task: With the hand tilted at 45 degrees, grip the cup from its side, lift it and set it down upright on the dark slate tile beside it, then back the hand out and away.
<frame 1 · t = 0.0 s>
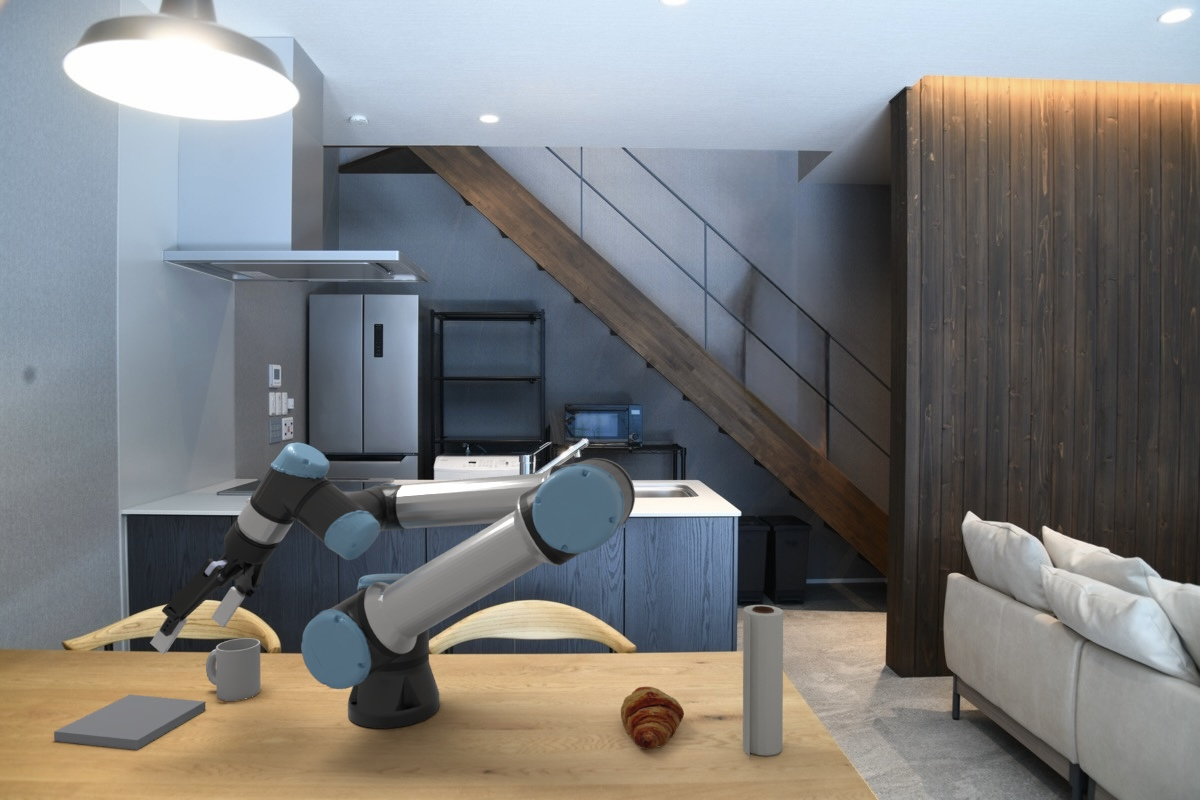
hand: (189, 634, 127), 15 cm above the table, tool tilted 35°, fingers open, 13 cm apart
cup: (231, 694, 142), on the table
croissant: (652, 730, 128), on the table
paper towel roll: (759, 749, 120), on the table
slate tile: (133, 724, 129), on the table
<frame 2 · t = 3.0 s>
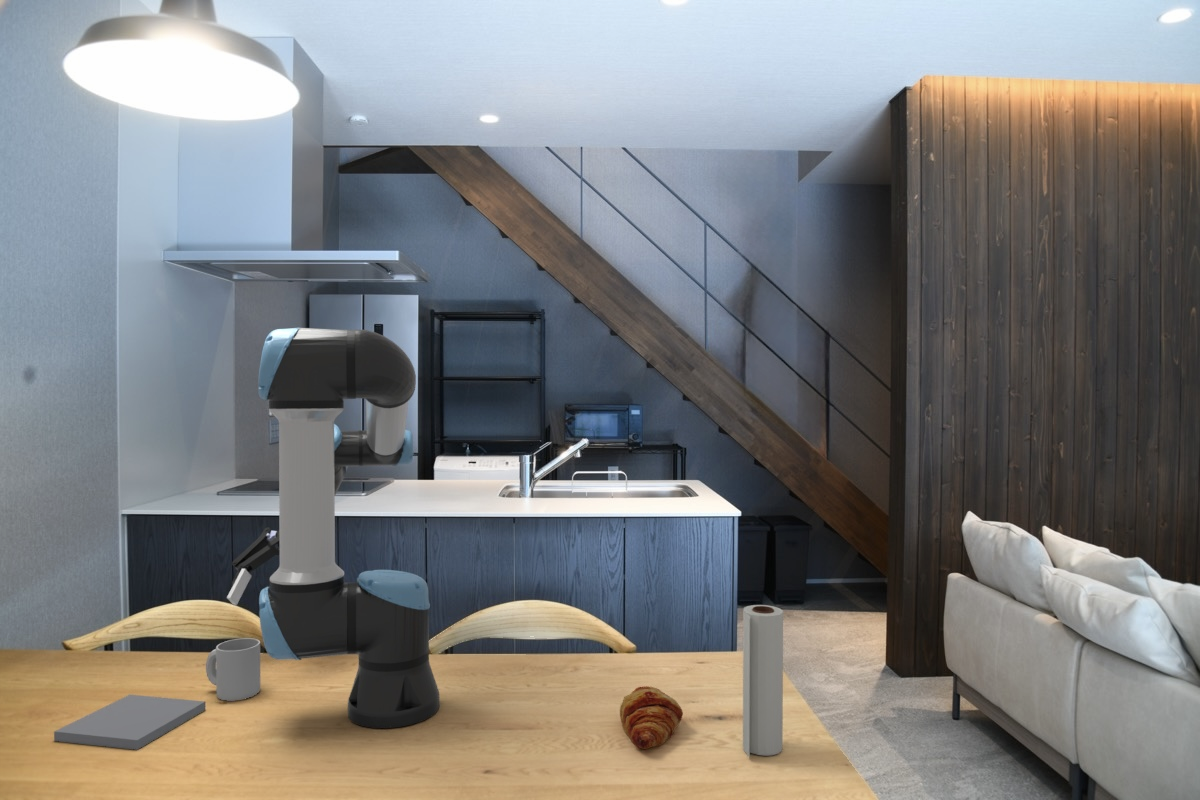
hand: (263, 603, 151), 14 cm above the table, tool tilted 45°, fingers open, 13 cm apart
nothing on the table moved.
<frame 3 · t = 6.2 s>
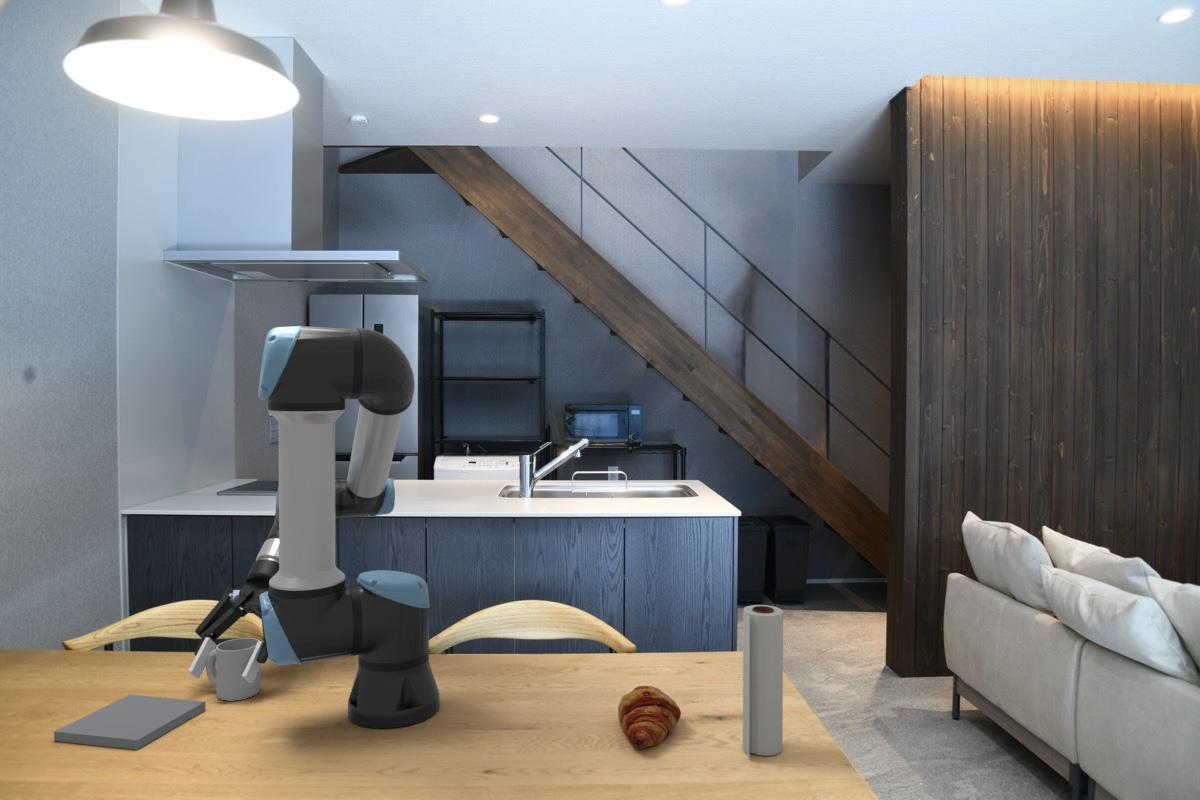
hand: (220, 677, 139), 4 cm above the table, tool tilted 45°, fingers closed on cup, 10 cm apart
cup: (231, 694, 142), on the table, touching gripper
everything else where it was.
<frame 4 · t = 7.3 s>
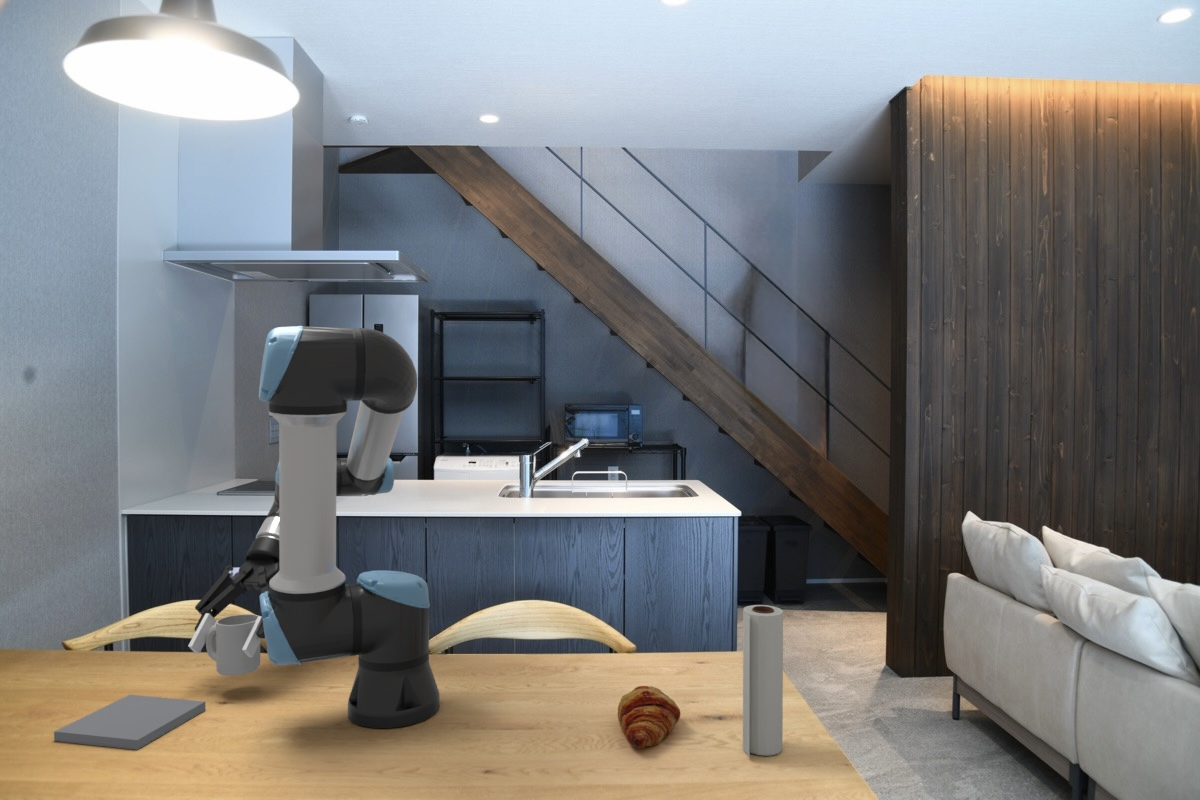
hand: (220, 651, 139), 8 cm above the table, tool tilted 45°, fingers closed on cup, 10 cm apart
cup: (231, 669, 142), point 4 cm above the table, touching gripper
everything else where it was.
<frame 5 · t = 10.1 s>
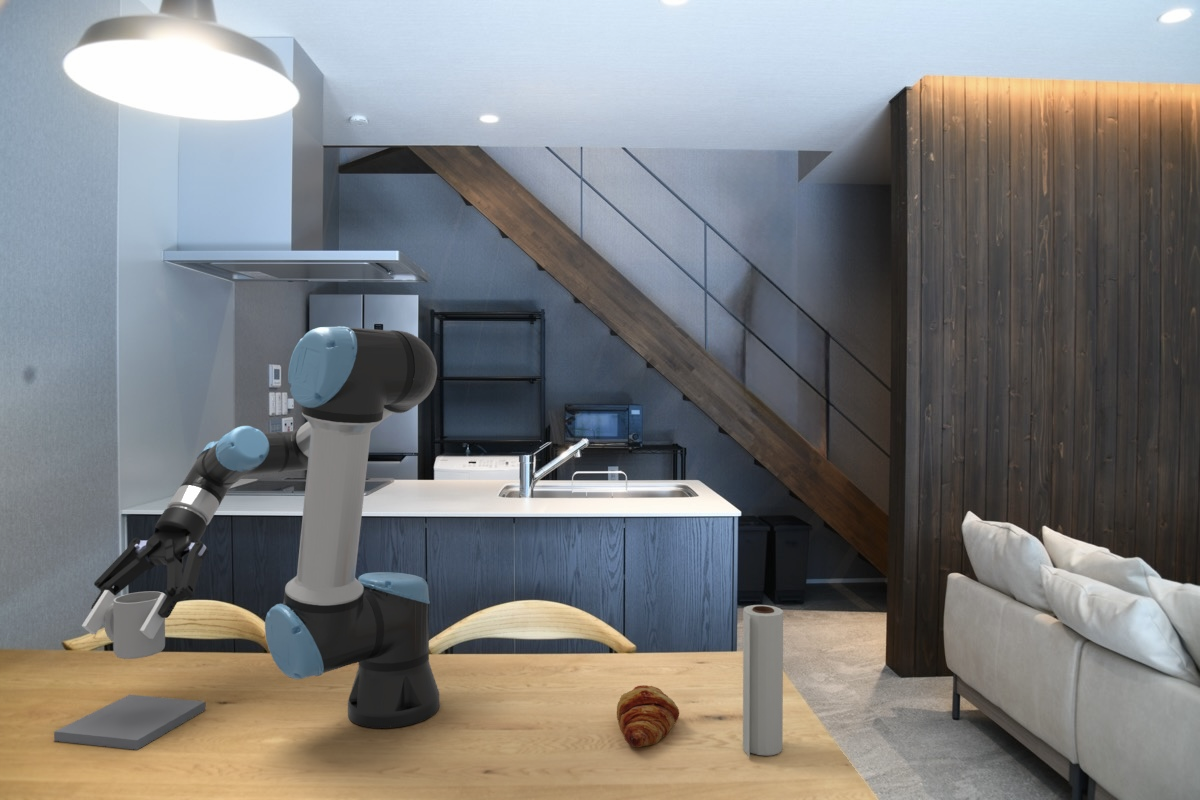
hand: (117, 632, 126), 16 cm above the table, tool tilted 45°, fingers closed on cup, 10 cm apart
cup: (132, 652, 129), point 12 cm above the table, touching gripper
everything else where it was.
when the fingers open (7 cm above the table, at t = 12.6 s): cup drops 1 cm, resting on slate tile.
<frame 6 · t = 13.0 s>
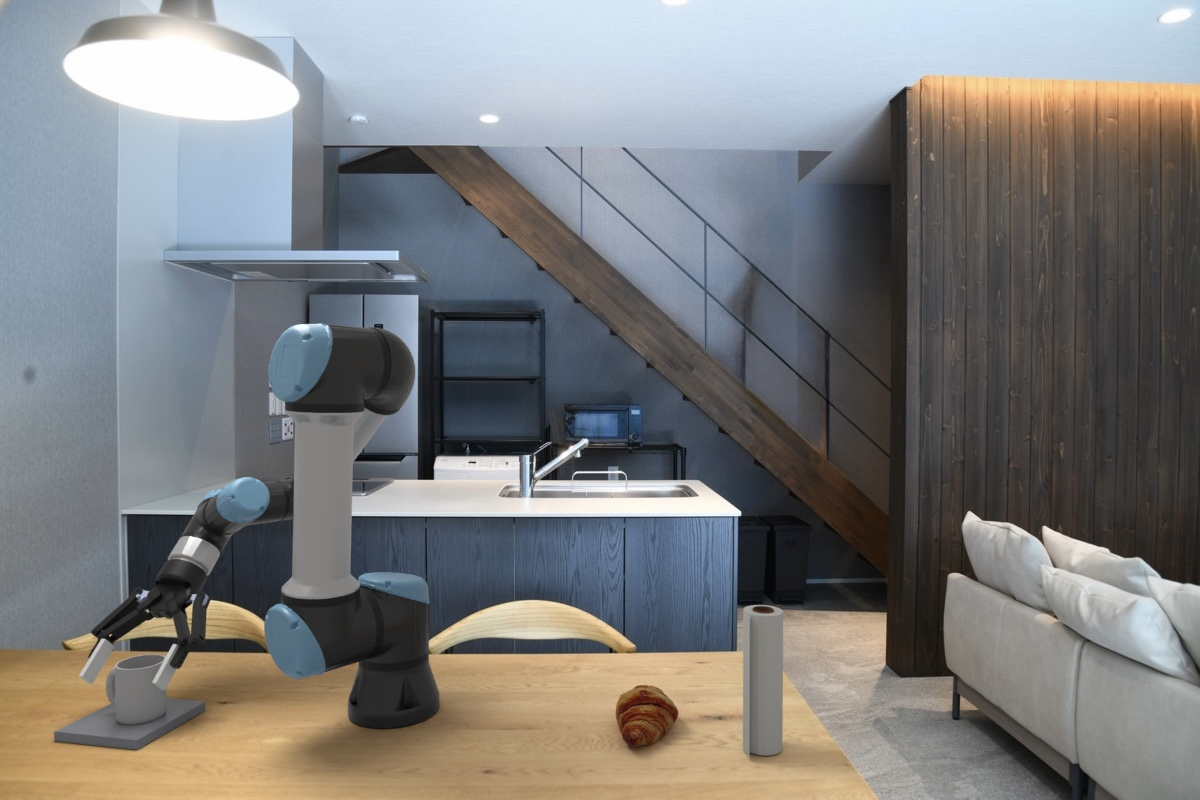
hand: (121, 683, 126), 8 cm above the table, tool tilted 45°, fingers open, 13 cm apart
cup: (134, 716, 129), point 1 cm above the table, touching slate tile
everything else where it was.
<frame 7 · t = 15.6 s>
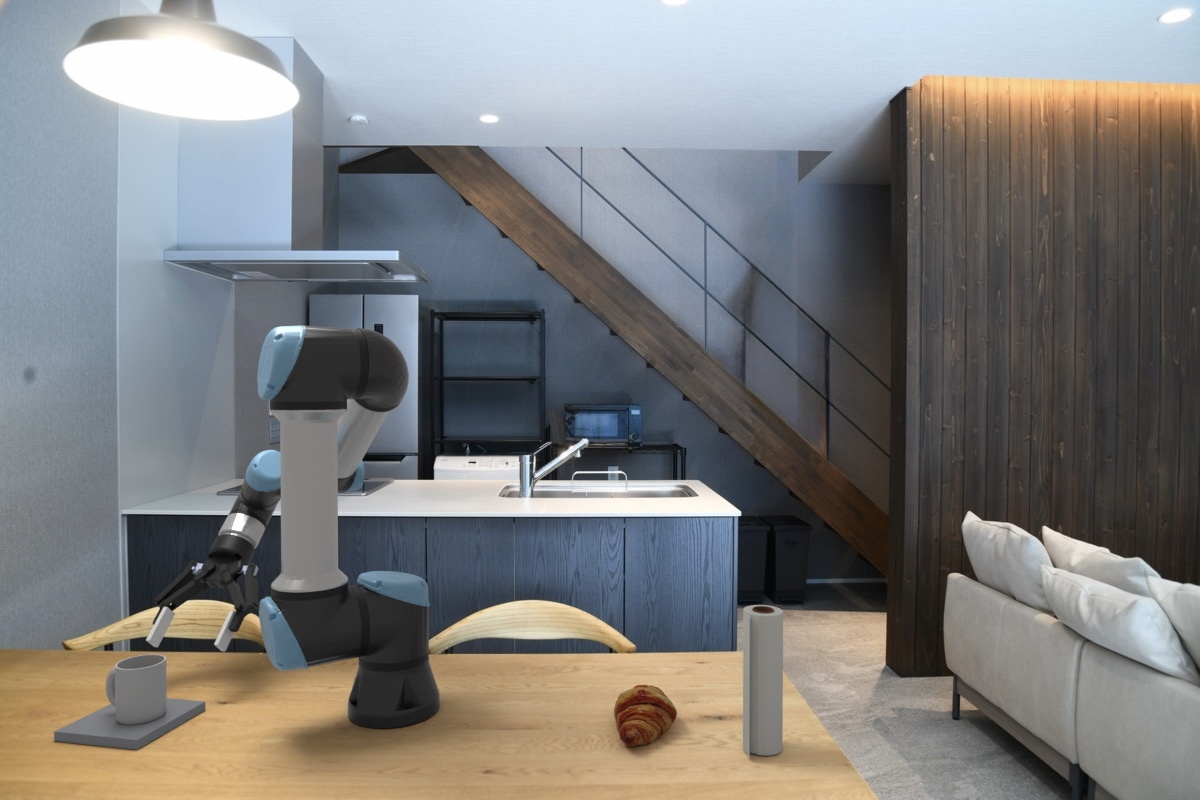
hand: (185, 646, 140), 9 cm above the table, tool tilted 45°, fingers open, 13 cm apart
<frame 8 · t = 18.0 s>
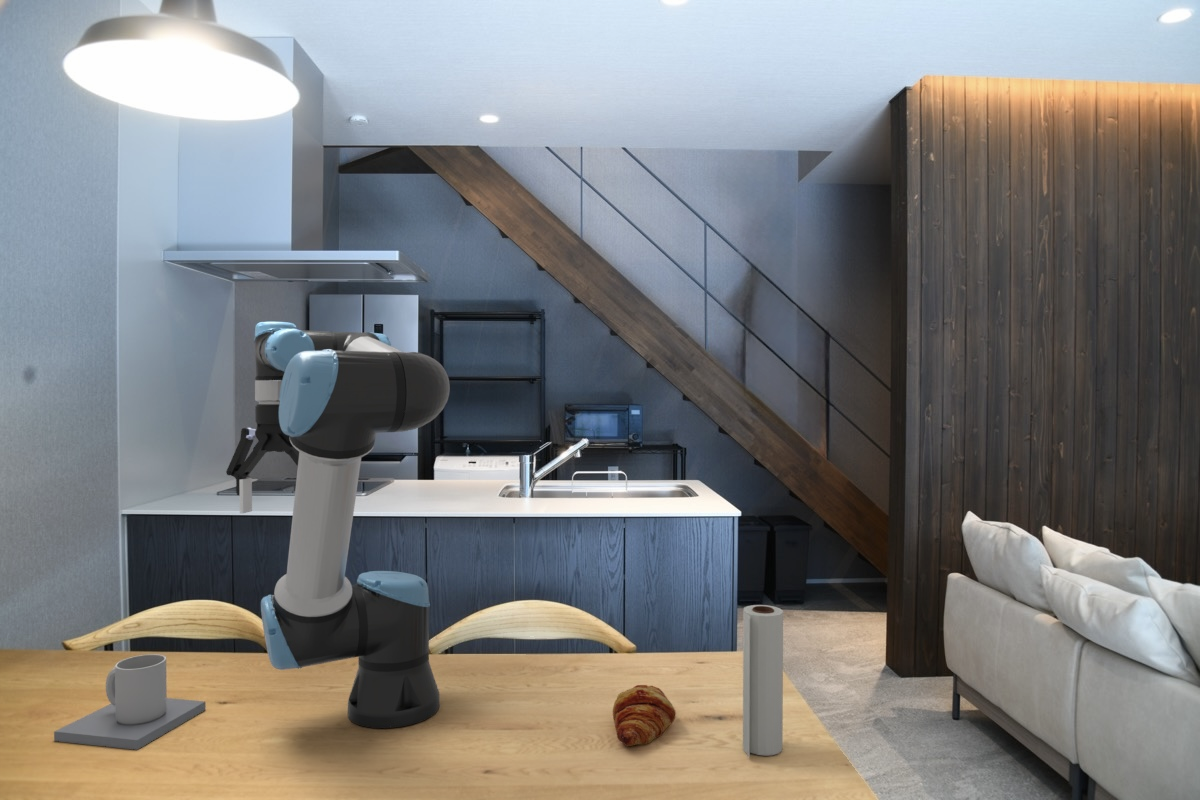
hand: (277, 513, 152), 31 cm above the table, tool pointing down, fingers open, 13 cm apart
at the end: cup inside the target area on the slate tile (0.1 cm from its centre), point 1.3 cm above the slate tile's base; cup tilted 0°; the gripper is holding nothing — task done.
